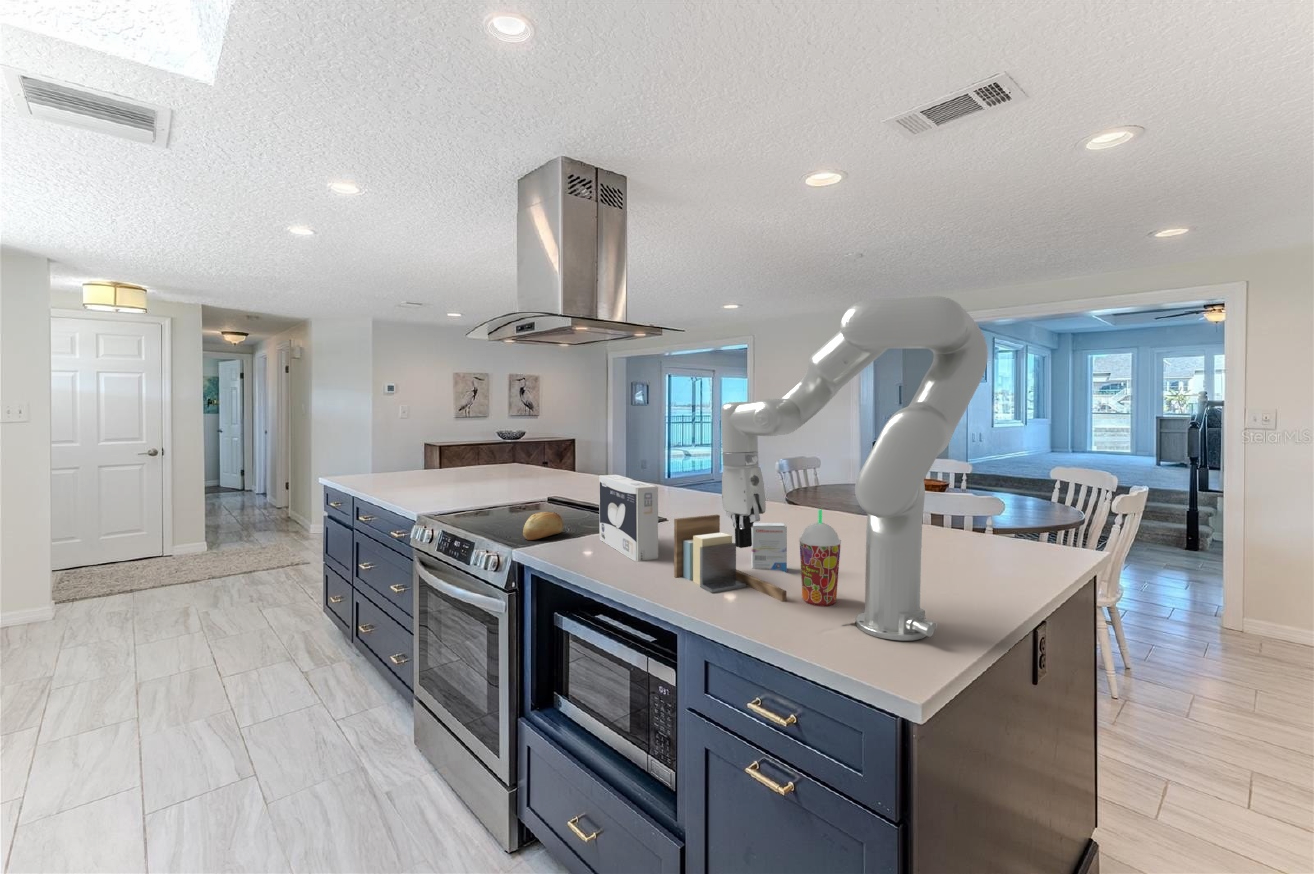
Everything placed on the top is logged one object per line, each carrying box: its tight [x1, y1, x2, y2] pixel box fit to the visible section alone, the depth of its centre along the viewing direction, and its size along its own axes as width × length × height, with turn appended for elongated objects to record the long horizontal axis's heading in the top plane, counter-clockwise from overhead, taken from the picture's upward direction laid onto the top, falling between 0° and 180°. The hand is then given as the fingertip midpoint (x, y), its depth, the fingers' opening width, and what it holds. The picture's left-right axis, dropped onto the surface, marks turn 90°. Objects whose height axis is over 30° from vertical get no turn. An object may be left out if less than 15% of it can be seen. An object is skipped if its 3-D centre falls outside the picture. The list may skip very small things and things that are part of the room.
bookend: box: [699, 542, 747, 594], centre depth 132 cm, size 5×9×9 cm, turn 117°
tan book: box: [692, 532, 733, 586], centre depth 136 cm, size 4×8×11 cm, turn 117°
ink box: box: [750, 522, 788, 573], centre depth 149 cm, size 9×5×12 cm, turn 84°
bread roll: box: [522, 511, 564, 541], centre depth 188 cm, size 10×15×8 cm, turn 145°
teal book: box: [682, 539, 693, 581], centre depth 141 cm, size 3×8×9 cm, turn 117°
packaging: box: [598, 474, 659, 563], centre depth 170 cm, size 30×6×20 cm, turn 25°
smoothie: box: [798, 509, 842, 607], centre depth 123 cm, size 8×8×20 cm
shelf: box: [673, 514, 787, 602], centre depth 132 cm, size 27×12×15 cm, turn 27°
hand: (743, 546), depth 126 cm, fingers closed
